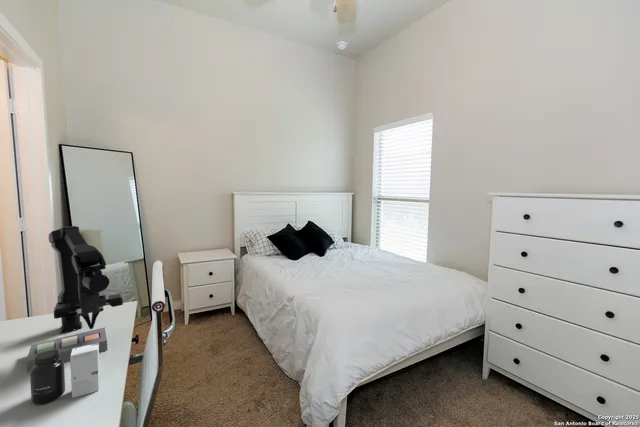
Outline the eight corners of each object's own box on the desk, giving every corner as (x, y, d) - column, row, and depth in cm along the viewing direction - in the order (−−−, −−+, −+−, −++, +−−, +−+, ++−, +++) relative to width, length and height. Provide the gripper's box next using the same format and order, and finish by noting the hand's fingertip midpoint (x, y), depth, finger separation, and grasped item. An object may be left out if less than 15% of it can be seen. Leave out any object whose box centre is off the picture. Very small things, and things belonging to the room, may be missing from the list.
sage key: (38, 352, 97) (37, 345, 97) (54, 348, 100) (54, 341, 100) (37, 357, 94) (36, 350, 94) (53, 353, 97) (53, 346, 97)
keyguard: (32, 354, 99) (31, 344, 99) (105, 336, 112) (104, 327, 112) (27, 372, 90) (26, 361, 90) (107, 349, 103) (106, 340, 102)
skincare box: (71, 399, 79) (68, 356, 78) (73, 389, 83) (71, 348, 82) (100, 390, 83) (97, 349, 82) (101, 381, 86) (98, 342, 85)
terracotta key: (85, 343, 105) (84, 336, 105) (98, 339, 108) (98, 333, 107) (85, 348, 102) (84, 341, 102) (99, 344, 105) (99, 337, 104)
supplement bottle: (36, 409, 75) (33, 365, 74) (28, 399, 79) (24, 356, 78) (70, 393, 81) (67, 352, 80) (60, 384, 85) (57, 345, 84)
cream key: (62, 346, 101) (62, 339, 101) (77, 342, 104) (77, 335, 104) (62, 351, 98) (61, 344, 98) (77, 347, 101) (77, 340, 100)
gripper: (51, 298, 91) (54, 347, 92) (123, 286, 102) (125, 329, 104) (53, 288, 99) (56, 333, 101) (120, 278, 111) (122, 318, 112)
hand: (91, 328), depth 104 cm, fingers closed
